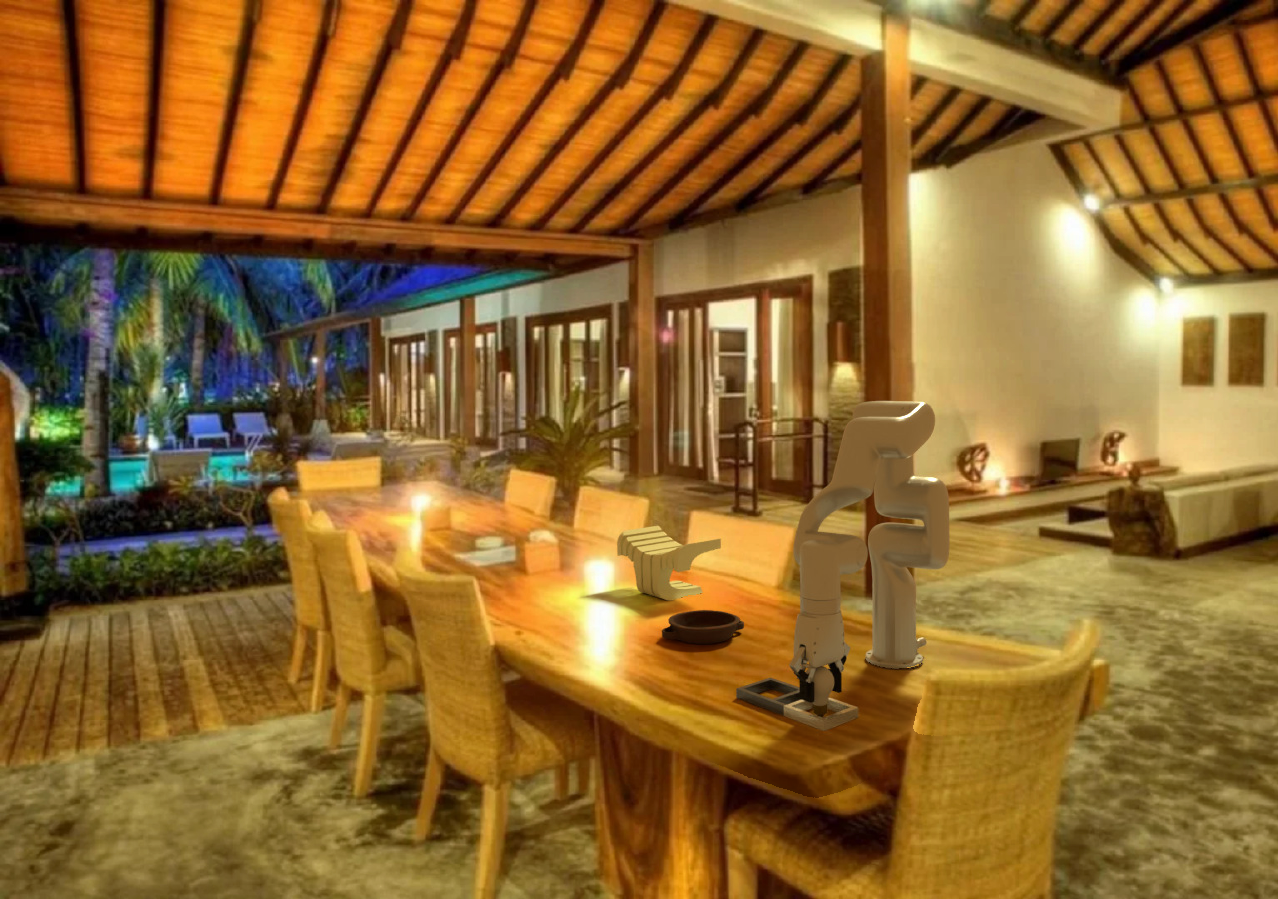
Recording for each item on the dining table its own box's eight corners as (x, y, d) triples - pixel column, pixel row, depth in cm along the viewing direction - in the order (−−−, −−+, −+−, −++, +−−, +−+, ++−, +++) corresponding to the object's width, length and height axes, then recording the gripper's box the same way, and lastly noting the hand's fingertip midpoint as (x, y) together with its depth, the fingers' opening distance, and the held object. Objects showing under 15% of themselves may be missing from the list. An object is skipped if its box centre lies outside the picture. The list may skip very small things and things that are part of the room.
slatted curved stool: (618, 588, 284) (616, 531, 282) (659, 581, 293) (658, 525, 291) (678, 608, 259) (677, 545, 258) (721, 599, 269) (720, 538, 267)
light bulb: (832, 708, 180) (829, 659, 179) (839, 721, 174) (836, 670, 173) (802, 711, 180) (799, 662, 179) (808, 724, 174) (805, 673, 173)
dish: (759, 641, 227) (759, 622, 226) (677, 653, 219) (676, 632, 219) (729, 624, 243) (728, 605, 243) (651, 634, 236) (650, 614, 235)
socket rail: (770, 686, 194) (770, 677, 194) (858, 717, 176) (858, 707, 176) (736, 698, 188) (736, 688, 188) (823, 731, 170) (823, 720, 170)
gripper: (834, 594, 184) (834, 680, 185) (774, 609, 173) (775, 701, 174) (865, 600, 178) (865, 690, 179) (804, 617, 167) (805, 712, 169)
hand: (820, 695), depth 177 cm, fingers open, 7 cm apart
